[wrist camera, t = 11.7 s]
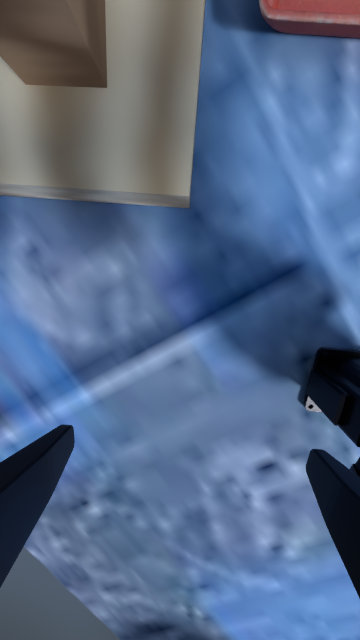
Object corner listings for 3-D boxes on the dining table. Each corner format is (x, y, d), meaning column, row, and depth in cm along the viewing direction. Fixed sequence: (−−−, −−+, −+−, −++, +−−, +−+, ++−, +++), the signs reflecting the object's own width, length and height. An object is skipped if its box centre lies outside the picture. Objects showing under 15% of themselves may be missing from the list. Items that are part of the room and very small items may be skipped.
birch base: (212, -86, 12) (218, -193, 9) (189, 208, 17) (189, 196, 14) (-45, -93, 13) (-114, -198, 10) (-5, 194, 17) (-44, 180, 14)
